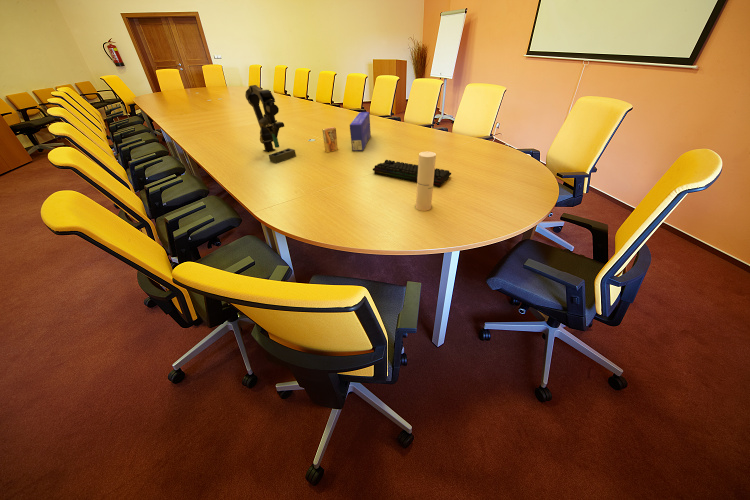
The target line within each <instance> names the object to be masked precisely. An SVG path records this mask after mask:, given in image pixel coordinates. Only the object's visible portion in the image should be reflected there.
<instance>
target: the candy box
mask: <svg viewBox="0 0 750 500" xmlns="http://www.w3.org/2000/svg"><path fill="white" fill-rule="evenodd" d="M322 138H323V145H324V146H323V147H324V151H325V152H326V153H331V152H334V151H337V150H339V145H338V136H337V128H336V127H334V126H331V127H325V128H322Z"/></svg>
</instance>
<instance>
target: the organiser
mask: <svg viewBox="0 0 750 500" xmlns="http://www.w3.org/2000/svg"><path fill="white" fill-rule="evenodd" d="M296 153H297V152H296V149H293V148H290V147H289V148H285V149H283V150H280V151H276V152H273V153H270V154H268V158H269V162H270V163H273V164H279V163H281V162H285V161H287V160H290V159H293V158H295V157H297V154H296Z"/></svg>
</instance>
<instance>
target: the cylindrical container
mask: <svg viewBox="0 0 750 500" xmlns="http://www.w3.org/2000/svg"><path fill="white" fill-rule="evenodd" d="M436 159H437V153H436V152H434V151H421V152H419V153H418V161H417V165H418V178H417V183H416V198H415V209H416V210H418V211H423V212H425V211H429V210H432V201H433V191H434V186H433V182H434V171H435V169H436V161H437V160H436Z"/></svg>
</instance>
